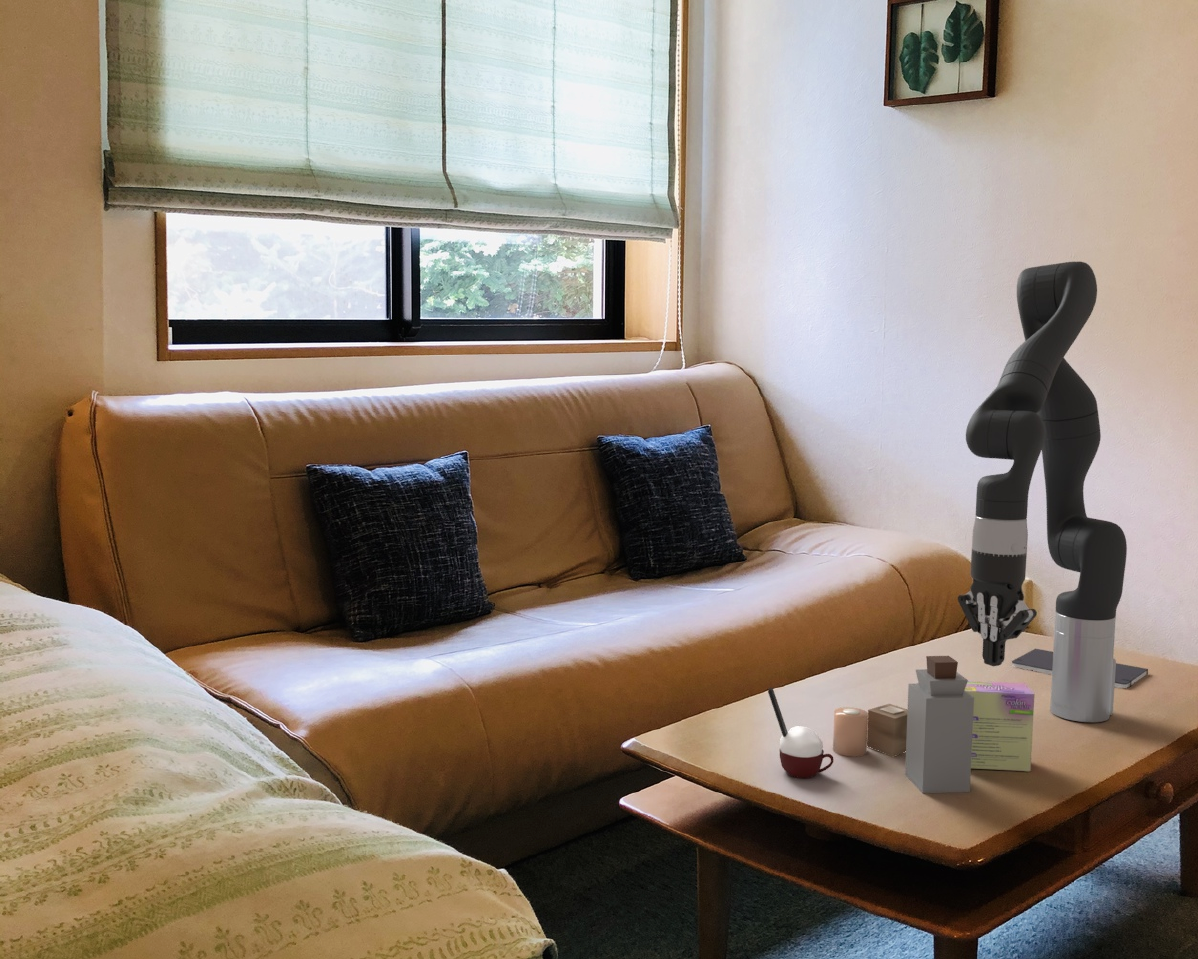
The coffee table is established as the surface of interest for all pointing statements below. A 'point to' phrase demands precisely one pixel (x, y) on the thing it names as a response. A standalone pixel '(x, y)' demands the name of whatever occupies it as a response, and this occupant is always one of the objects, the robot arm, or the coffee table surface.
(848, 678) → the coffee table surface
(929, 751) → the perfume bottle
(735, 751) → the coffee table surface
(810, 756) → the cocoa
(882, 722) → the walnut block
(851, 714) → the terracotta cylinder
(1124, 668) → the notebook
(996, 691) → the box
